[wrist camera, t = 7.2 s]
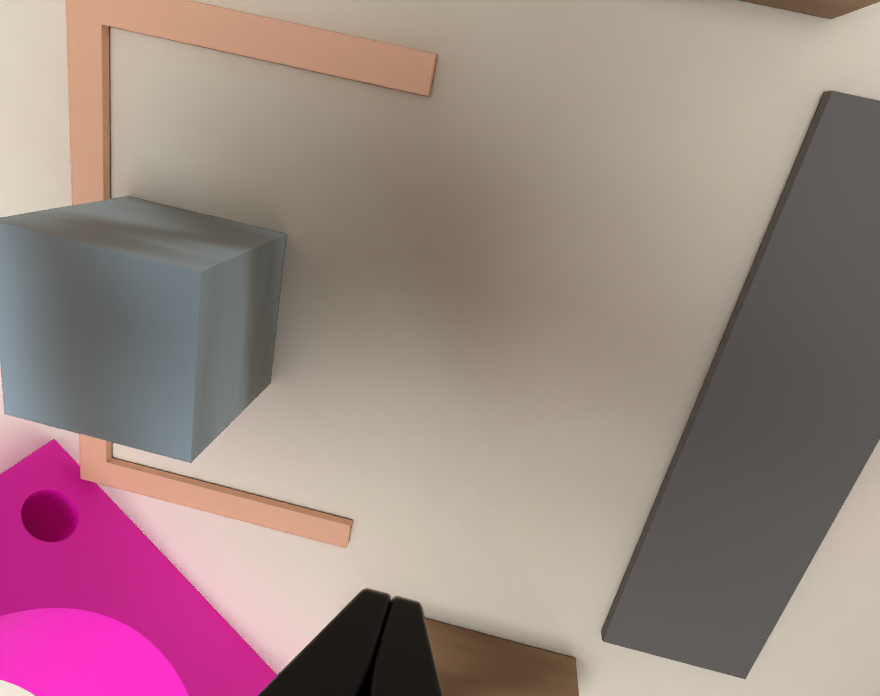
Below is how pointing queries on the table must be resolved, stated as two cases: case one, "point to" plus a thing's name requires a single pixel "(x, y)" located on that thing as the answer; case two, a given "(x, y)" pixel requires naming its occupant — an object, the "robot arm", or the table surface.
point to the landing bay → (88, 19)
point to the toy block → (102, 598)
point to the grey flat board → (771, 417)
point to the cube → (136, 321)
